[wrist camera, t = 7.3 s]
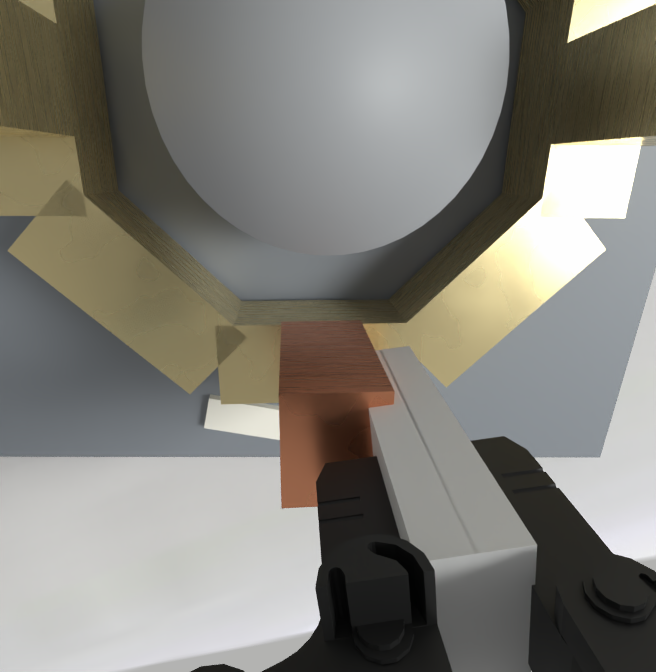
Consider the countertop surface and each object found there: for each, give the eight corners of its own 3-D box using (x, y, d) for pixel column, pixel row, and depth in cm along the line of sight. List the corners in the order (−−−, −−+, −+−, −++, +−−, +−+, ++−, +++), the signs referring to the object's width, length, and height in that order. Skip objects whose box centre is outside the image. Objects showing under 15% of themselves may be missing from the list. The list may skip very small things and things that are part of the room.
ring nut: (-76, -342, 10) (-757, -1296, 3) (664, -273, 11) (1175, -870, 5) (65, 375, 16) (-93, 525, 9) (546, 364, 17) (707, 488, 10)
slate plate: (-23, 440, 17) (-169, 571, 12) (-254, -593, 9) (-1053, -1714, 4) (585, 443, 20) (703, 553, 14) (816, -387, 12) (1302, -894, 6)
